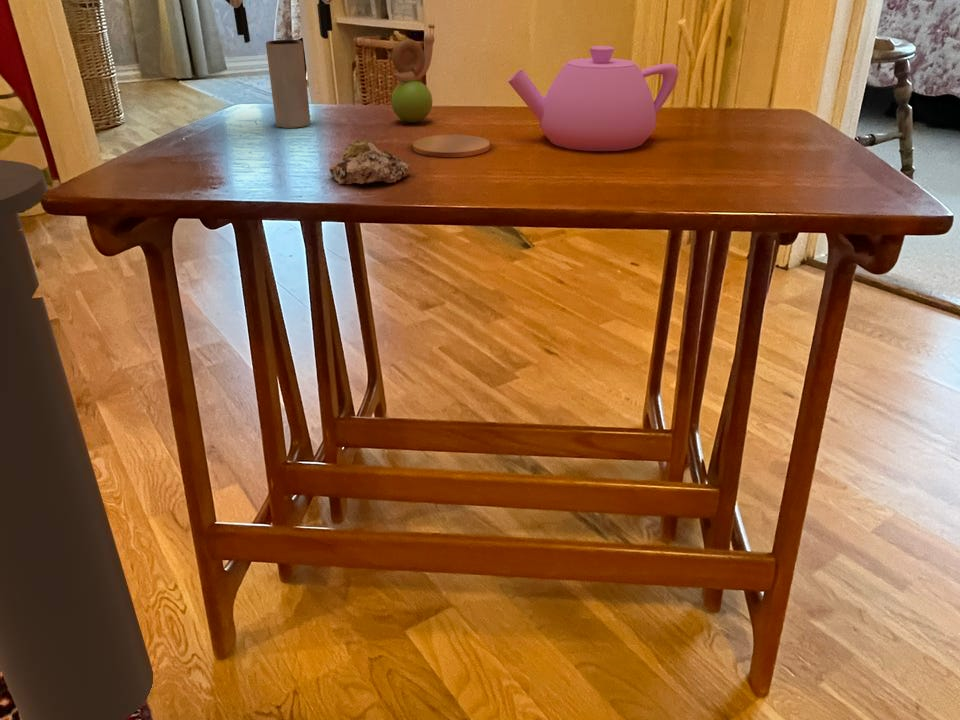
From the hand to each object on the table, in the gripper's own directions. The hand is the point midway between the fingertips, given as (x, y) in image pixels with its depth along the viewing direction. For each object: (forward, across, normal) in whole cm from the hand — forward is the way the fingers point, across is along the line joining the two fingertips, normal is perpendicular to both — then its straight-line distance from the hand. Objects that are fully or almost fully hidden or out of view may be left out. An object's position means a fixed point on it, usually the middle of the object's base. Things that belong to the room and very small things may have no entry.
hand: (286, 39), depth 99 cm
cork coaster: (+11, -16, +19) cm, 27 cm away
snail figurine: (+11, -16, +3) cm, 19 cm away
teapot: (+11, -34, +20) cm, 41 cm away
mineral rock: (+11, -6, +28) cm, 31 cm away
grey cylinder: (+11, 0, 0) cm, 11 cm away
